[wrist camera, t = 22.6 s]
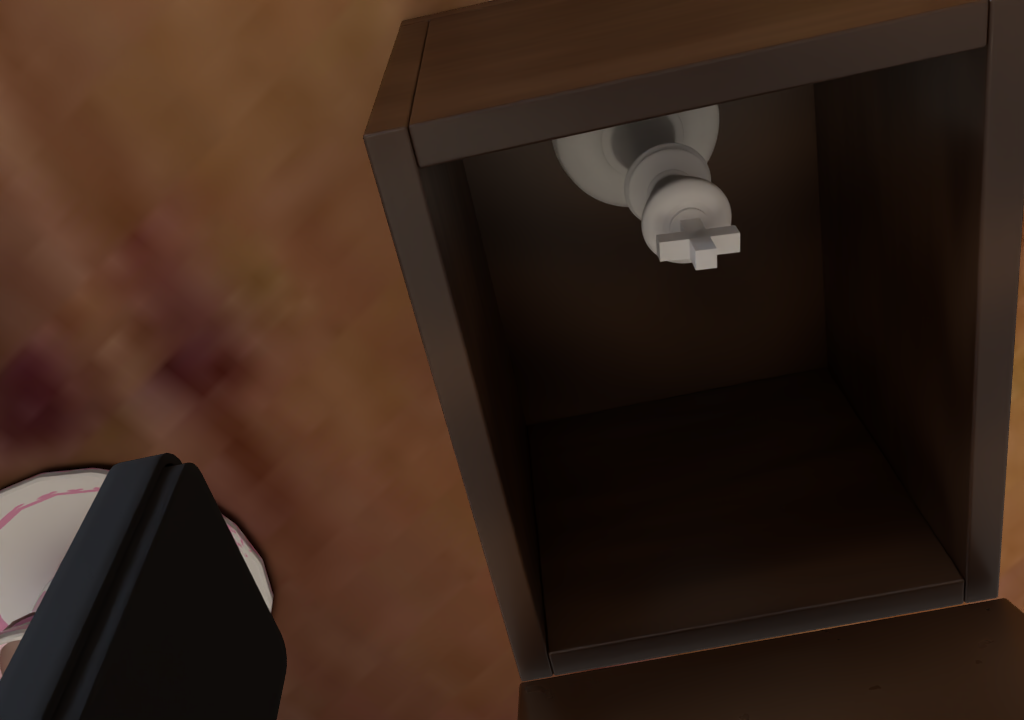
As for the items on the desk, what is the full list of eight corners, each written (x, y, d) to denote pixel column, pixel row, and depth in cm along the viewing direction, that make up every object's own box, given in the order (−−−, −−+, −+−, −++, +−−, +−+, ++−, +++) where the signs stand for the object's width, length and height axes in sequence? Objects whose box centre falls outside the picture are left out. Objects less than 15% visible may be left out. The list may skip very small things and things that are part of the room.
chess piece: (542, 48, 27) (576, 157, 18) (716, 25, 27) (833, 126, 18) (558, 211, 29) (594, 376, 21) (717, 191, 29) (821, 349, 21)
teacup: (178, 732, 42) (135, 868, 36) (-93, 609, 37) (-188, 741, 32) (334, 565, 37) (311, 692, 32) (46, 405, 33) (-36, 520, 28)
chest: (401, 20, 27) (361, 135, 17) (827, -76, 26) (1039, -13, 17) (506, 435, 34) (521, 682, 25) (844, 370, 34) (999, 598, 24)
